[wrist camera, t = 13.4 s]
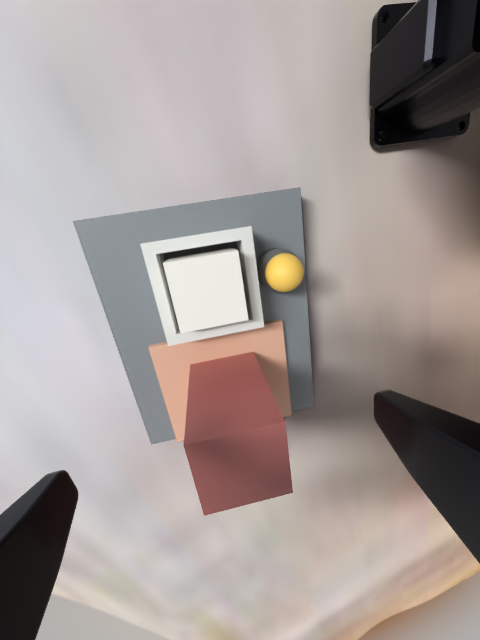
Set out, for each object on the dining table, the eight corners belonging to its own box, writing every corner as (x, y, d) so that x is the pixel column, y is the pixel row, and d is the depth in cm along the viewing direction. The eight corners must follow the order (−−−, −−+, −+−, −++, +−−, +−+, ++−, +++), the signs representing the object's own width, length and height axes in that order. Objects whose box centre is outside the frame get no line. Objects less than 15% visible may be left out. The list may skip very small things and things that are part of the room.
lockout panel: (291, 191, 16) (322, 176, 12) (306, 395, 22) (331, 433, 18) (84, 222, 15) (41, 217, 11) (154, 430, 21) (143, 479, 16)
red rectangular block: (253, 351, 17) (285, 421, 11) (260, 403, 19) (292, 492, 12) (190, 364, 17) (183, 445, 10) (202, 416, 19) (204, 515, 12)
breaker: (231, 247, 15) (238, 250, 12) (240, 305, 16) (248, 320, 13) (169, 257, 15) (162, 263, 12) (184, 315, 16) (180, 333, 13)
